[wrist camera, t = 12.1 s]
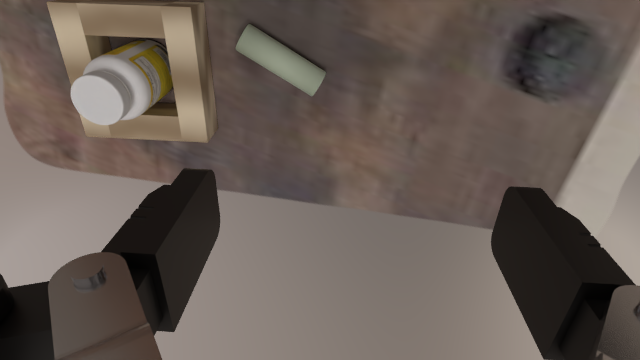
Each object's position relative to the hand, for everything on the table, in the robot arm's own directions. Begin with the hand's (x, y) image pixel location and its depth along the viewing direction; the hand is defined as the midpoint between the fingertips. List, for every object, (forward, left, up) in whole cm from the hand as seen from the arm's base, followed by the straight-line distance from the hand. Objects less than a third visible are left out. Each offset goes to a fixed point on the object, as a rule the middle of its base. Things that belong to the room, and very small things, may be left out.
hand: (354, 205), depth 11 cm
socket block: (+4, -19, -28) cm, 34 cm away
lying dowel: (+2, -6, -26) cm, 26 cm away
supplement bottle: (+4, -19, -28) cm, 34 cm away
